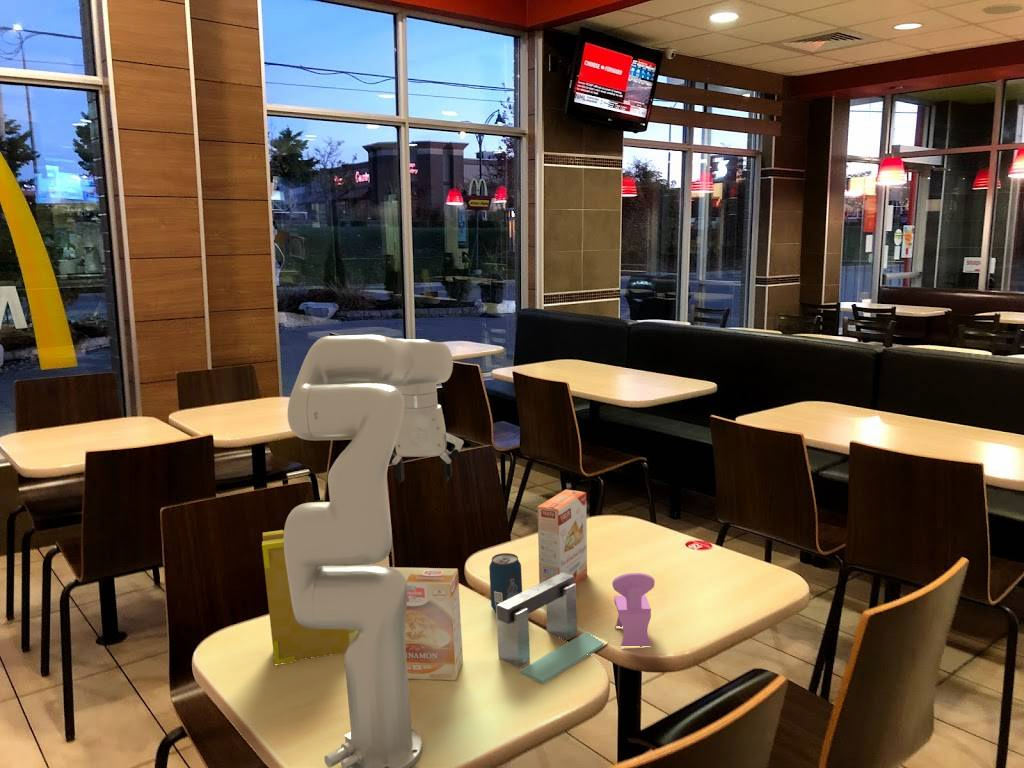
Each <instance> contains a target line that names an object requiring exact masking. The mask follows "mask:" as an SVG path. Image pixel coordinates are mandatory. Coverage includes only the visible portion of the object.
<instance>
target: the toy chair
mask: <svg viewBox="0 0 1024 768" xmlns="http://www.w3.org/2000/svg"><path fill="white" fill-rule="evenodd" d="M655 583H656V582H655V578H654V577H653V576H651V575H649V574H646V573H643V572H632V573H631V572H629V573H625V574H624V573H623V574H620V575H618V576H617V577H614V579H613V580H612V583H611V585H612V588H613V590H614V591H615V592H616V593H618V595H614V596H613V597H614V600H613V601H614V604H615V606H616V610H617V615H618V617H617V620H616V624H615V627H616V626H620V627H622V626H623V629H622V630H623V638H622V641H621V643H620V646H640V647H642V646H652V647H653V645H652V643H651V640H650V638H649V633H648V628H649V624H650V620H651V617H652V612H651V611H652V609H651V608H652V607H651V605H650V604H649V601H648V598H647V595H646V594H647V593H648V592H650V591H652V590H653V589H654V588H655Z"/></svg>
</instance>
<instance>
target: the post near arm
mask: <svg viewBox="0 0 1024 768" xmlns="http://www.w3.org/2000/svg"><path fill="white" fill-rule="evenodd" d="M495 614H496V617H497V606H496V613H495ZM496 633H497V636H496V637H497V650H498V651H497V652H498V653H497V654H498V659H499V660H501V661H504V662H505V663H508V664H509V665H511V666H513V667H515V668H517V669H520V668H522V667H524V666H526V665H527V664H529V663H531V654H530V653H531V652H530V651H531V650H530V648H531V647H530V624H529V614H528V609H527V608H523V609H521V610H519V611H517V612H515V613H514V622H512V623H510V624H507V623H505V622H502V621H500V620H498V619H497V618H496Z"/></svg>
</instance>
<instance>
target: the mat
mask: <svg viewBox="0 0 1024 768" xmlns="http://www.w3.org/2000/svg"><path fill="white" fill-rule="evenodd" d="M591 635H592V636H591ZM593 635H594V634H591V633H588V632H586V633H585V632H584V633H582V634H580V635H578V636H576V637H574V638H573V639H571V640H570V641H568V642H566V643H564V644H563V645H561V646H559V647H558V648H556V649H554V650H553V651H551V652H549V653H548V654H545V655H544V656H543V657H541V658H539V659H538V660H536V661H534V662H532V663H530V664H529V665H528V666H526V667H524V668H522V669H520V674H521V675H524V676H525V677H527V678H530V679H532V680H533V681H535V682H537V683H540V684H542V685H544V684H545V683H547V682H549V681H550V680H552V679H553V678H555V677H557V676H558V675H560V674H561V673H563V672H564V671H566V670H567V669H569V668H571V667H573V666H574V665H576V664H577V663H579V662H581V661H582V660H584V659H585V658H587V657H590V655H592V654H593V653H595V652H597V651H598V650H600V649H602V648H603V647H604V646H603V644H604V643H602V642H601V641H599V640H598V639H596V638H595V637H593ZM602 646H603V647H602ZM587 654H588V655H587Z"/></svg>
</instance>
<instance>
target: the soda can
mask: <svg viewBox="0 0 1024 768" xmlns="http://www.w3.org/2000/svg"><path fill="white" fill-rule="evenodd" d="M522 575H523V574H522V565H521V562H520V560H519V557H518V555H516V554H514V553H508V552H507V553H505V552H504V553H498V554H495V555H493V556H492V558H491V561H490V564H489V590H490V606H491V609H492V610H493V611H494V612H495V614H496V606H497V604H499V603H501V602H503V601H505V600H507V599H509V598H511V597H514V596H516V595H518V594H520V593H522V592H523V581H522V580H523V579H522V578H523V577H522Z"/></svg>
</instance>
